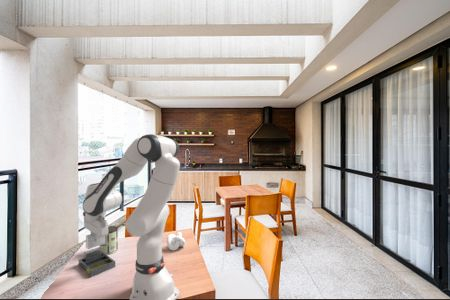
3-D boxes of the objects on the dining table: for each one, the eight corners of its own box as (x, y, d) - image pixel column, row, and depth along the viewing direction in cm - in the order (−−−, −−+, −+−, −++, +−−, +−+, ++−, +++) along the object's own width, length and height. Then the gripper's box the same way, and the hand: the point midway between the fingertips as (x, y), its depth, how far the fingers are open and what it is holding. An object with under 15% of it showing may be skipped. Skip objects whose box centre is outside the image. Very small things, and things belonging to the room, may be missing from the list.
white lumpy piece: (166, 244, 142) (166, 231, 142) (184, 242, 145) (184, 229, 145) (166, 252, 131) (166, 238, 131) (185, 250, 134) (185, 236, 134)
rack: (115, 266, 115) (115, 254, 115) (90, 277, 105) (90, 263, 105) (101, 256, 126) (101, 244, 125) (77, 265, 116) (77, 252, 116)
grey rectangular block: (105, 243, 110) (105, 232, 110) (88, 249, 104) (88, 237, 104) (102, 241, 112) (102, 230, 112) (85, 247, 106) (85, 235, 106)
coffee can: (106, 246, 138) (106, 225, 138) (121, 247, 137) (121, 226, 137) (95, 254, 128) (95, 231, 127) (111, 255, 127) (111, 232, 126)
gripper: (112, 216, 104) (111, 244, 105) (94, 209, 117) (94, 233, 117) (98, 220, 99) (98, 248, 100) (81, 211, 111) (81, 237, 112)
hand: (95, 240), depth 108 cm, fingers closed on grey rectangular block, 3 cm apart
